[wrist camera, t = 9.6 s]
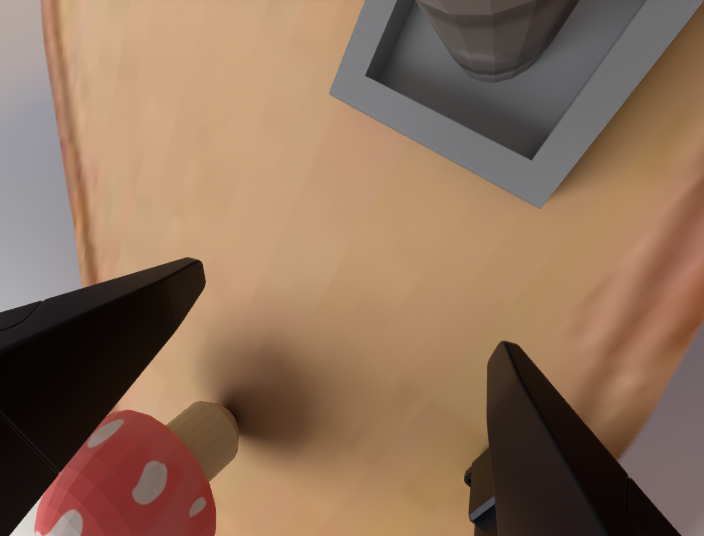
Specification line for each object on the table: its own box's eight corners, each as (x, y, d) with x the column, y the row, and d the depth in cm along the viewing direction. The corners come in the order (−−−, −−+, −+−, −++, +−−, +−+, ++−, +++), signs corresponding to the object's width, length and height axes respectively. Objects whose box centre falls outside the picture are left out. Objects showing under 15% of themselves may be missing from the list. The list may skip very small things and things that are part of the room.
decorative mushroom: (208, 333, 30) (-10, 448, 17) (304, 434, 28) (139, 653, 15) (170, 402, 36) (-14, 527, 23) (247, 490, 34) (93, 681, 21)
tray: (766, -96, 11) (832, -163, 9) (533, 205, 17) (540, 209, 14) (464, -177, 14) (459, -244, 12) (347, 104, 19) (328, 94, 17)
